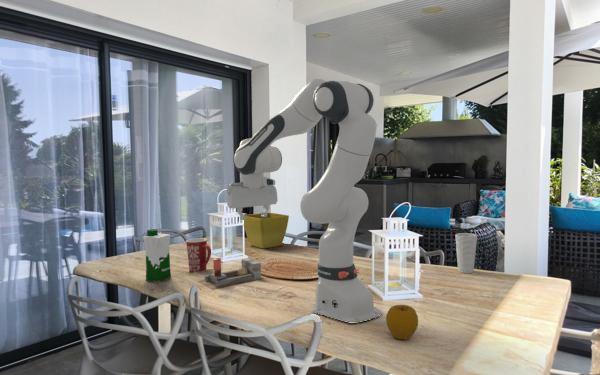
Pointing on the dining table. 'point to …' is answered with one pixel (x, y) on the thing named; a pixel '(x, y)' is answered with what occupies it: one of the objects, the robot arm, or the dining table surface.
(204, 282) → the cracker bed
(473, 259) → the cup
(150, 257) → the milk carton
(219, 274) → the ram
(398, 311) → the apple
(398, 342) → the dining table surface
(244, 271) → the nut
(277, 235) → the flower pot
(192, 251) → the mug
